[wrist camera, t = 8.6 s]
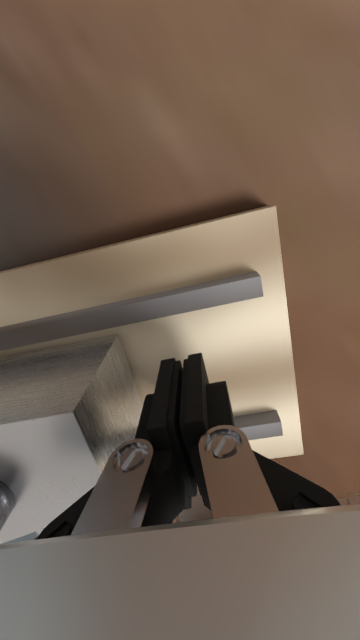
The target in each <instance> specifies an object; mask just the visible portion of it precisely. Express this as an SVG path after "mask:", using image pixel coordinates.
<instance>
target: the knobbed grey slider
mask: <svg viewBox="0 0 360 640" xmlns="http://www.w3.org/2000/svg"><path fill="white" fill-rule="evenodd" d="M142 408H143V404H142V401H141V399H140V396H139V393H138V390H137V387H136V384H135V381H134V378H133V375H132V372H131V370H130V367H129V364H128V361H127V358H126V355H125V352H124V349H123V346H122V343H121V341H120V338H119V335H118V334H115V335H110V336H105V337H100V338H95V339H90V340H85V341H80V342H75V343H71V344H66V345H61V346H56V347H51V348H46V349H41V350H36V351H31V352H26V353H21V354H17V355H12V356H7V357H2V358H0V544H2V543H5V542H8V541H11V540H13V539H16V538H19V537H22V536H25V535H27V534H30V533H33V532H37V533H38V535H40V533H41V532H42V530H43V529H44V528H45V527H46V526H47V525H48V524H49V523H50V522H52V521H53V520H54V519H55V518H56V517H58V516H59V515H60V514H61V513H62V512H64V511H65V510H66V509H67V508H69V507H70V506H71V505H72V504H73V503H75V502H76V501H77V500H78V499H79V498H81V497H82V496H83V495H84V494H86V493H87V492H88V491H89V490H90V489H92V488H93V487H94V486H95V485H96V483H97V481H98V479H99V477H100V475H101V473H102V471H103V469H104V467H105V465H106V463H107V461H108V459H109V457H110V455H111V454H112V452H113V451H114V450H115V449H116V448H117V447H118V446H120V445H121V444H123V443H124V442H127V441H129V440H132V439H135V435H136V431H137V427H138V423H139V420H140V416H141V412H142Z"/></svg>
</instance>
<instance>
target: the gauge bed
mask: <svg viewBox="0 0 360 640" xmlns="http://www.w3.org/2000/svg"><path fill="white" fill-rule="evenodd" d="M115 334H118V335H119V338H120V341H121V343H122V346H123V349H124V352H125V355H126V358H127V361H128V364H129V367H130V370H131V372H132V375H133V378H134V381H135V384H136V387H137V390H138V393H139V396H140V399H141V401H142V404H144V400H145V397H146V395H147V394H153V393H154V391H155V386H156V381H157V377H158V372H159V367H160V363H161V360H165V359H170V358H175V360H176V361H178V360H180V361H181V364H182V367H183V361H184V359H188V355H191V354H196V353H202V356H203V360H204V364H205V368H206V372H207V376H208V380H209V383H215V382H220V381H226V384H227V388H228V393H229V397H230V402H231V407H232V412H233V417H234V423H235V427H237V428H239V429H240V430H242V431H243V432H244V434H245V435H246V437H247V439H248V441H249V444H250V446H251V448H252V450H253V451H255V452H257V453H259V454H261V455H263V456H265V457H266V458H268V459H272V458H280V457H287V456H294V455H302V454H304V453H303V444H302V435H301V426H300V417H299V409H298V400H297V391H296V382H295V373H294V364H293V355H292V346H291V337H290V328H289V319H288V310H287V301H286V292H285V283H284V274H283V265H282V256H281V247H280V238H279V230H278V221H277V212H276V206H264V207H260V208H256V209H252V210H248V211H244V212H240V213H236V214H232V215H228V216H223V217H219V218H215V219H211V220H207V221H203V222H199V223H195V224H191V225H187V226H183V227H179V228H175V229H171V230H167V231H163V232H158V233H154V234H150V235H146V236H142V237H138V238H134V239H130V240H126V241H122V242H118V243H114V244H110V245H106V246H102V247H98V248H94V249H89V250H85V251H81V252H77V253H73V254H69V255H65V256H61V257H57V258H53V259H49V260H45V261H41V262H37V263H33V264H29V265H24V266H20V267H16V268H12V269H8V270H4V271H0V358H2V357H7V356H12V355H17V354H21V353H26V352H31V351H36V350H41V349H46V348H51V347H56V346H61V345H66V344H71V343H75V342H80V341H85V340H90V339H95V338H100V337H105V336H110V335H115Z"/></svg>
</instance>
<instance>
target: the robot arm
mask: <svg viewBox="0 0 360 640" xmlns="http://www.w3.org/2000/svg"><path fill="white" fill-rule="evenodd" d="M197 485H198V488H199V492H200V495H202V499H203V502H204V505H205V506H206V507H207V508H208V509H210V510H211V511H212V515H213V519H207V520H198V521H189V522H180V523H179V520H178V514H179V513H180V512H181V511H182V510H183V509H189V508H191V497H193V496H196V495H197ZM347 497H348V499H347V498H337V497H334V496H333V495H332V494H331V493H329V492H328V491H327V490H325V489H324V488H322V487H320V486H318V485H316V484H315V483H313V482H311V481H309V480H307V479H305V478H303V477H302V476H300V475H298V474H296V473H294V472H292V471H290V470H289V469H287V468H285V467H283V466H281V465H279V464H277V463H276V462H274V461H272V460H270V459H268V458H266V457H265V456H263V455H261V454H259V453H257V452H255V451H253V450H252V448H251V446H250V444H249V441H248V439H247V437H246V435H245V434H244V432H243V431H242V430H240V429H239V428H237V427H235V423H234V417H233V412H232V407H231V402H230V397H229V393H228V388H227V384H226V381H220V382H215V383H209V380H208V376H207V372H206V368H205V364H204V360H203V356H202V353H196V354H191V355H188V359H184V361H183V367H182V364H181V361H180V360H178V361H176V360H175V358H170V359H165V360H161V363H160V367H159V372H158V377H157V381H156V386H155V391H154V393H153V394H147V395H146V397H145V400H144V404H143V408H142V412H141V416H140V420H139V423H138V427H137V431H136V435H135V439H132V440H129V441H127V442H124V443H123V444H121V445H120V446H118V447H117V448H116V449H115V450H114V451H113V452H112V454H111V455H110V457H109V459H108V461H107V463H106V465H105V467H104V469H103V471H102V473H101V475H100V477H99V479H98V481H97V483H96V485H95V486H94V487H93V488H92V489H90V490H89V491H88V492H87V493H86V494H84V495H83V496H82V497H81V498H79V499H78V500H77V501H76V502H75V503H73V504H72V505H71V506H70V507H69V508H67V509H66V510H65V511H64V512H62V513H61V514H60V515H59V516H58V517H56V518H55V519H54V520H53V521H52V522H50V523H49V524H48V525H47V526H46V527H45V528H44V529H43V530H42V532H41V533H40V535H38V533H37V532H33V533H30V534H27V535H25V536H22V537H19V538H16V539H13V540H11V541H8V542H5V543H2V544H0V640H360V495H354V494H347Z"/></svg>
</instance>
